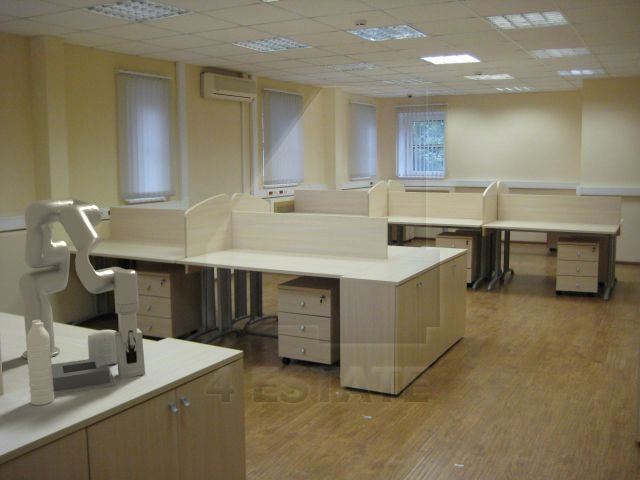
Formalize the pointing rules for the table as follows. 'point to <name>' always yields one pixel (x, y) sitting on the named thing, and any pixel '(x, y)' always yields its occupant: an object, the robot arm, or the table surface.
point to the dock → (81, 376)
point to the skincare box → (123, 367)
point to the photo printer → (103, 346)
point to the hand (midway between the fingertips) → (130, 359)
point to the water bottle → (39, 364)
